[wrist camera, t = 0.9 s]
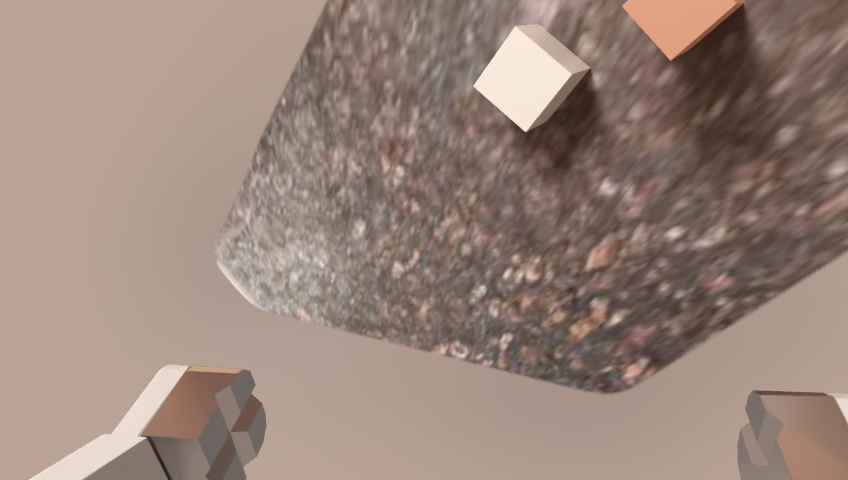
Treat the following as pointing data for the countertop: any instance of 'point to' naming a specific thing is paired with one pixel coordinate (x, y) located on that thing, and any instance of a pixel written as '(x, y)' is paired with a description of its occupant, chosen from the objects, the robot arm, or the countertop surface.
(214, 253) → the countertop surface
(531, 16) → the countertop surface
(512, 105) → the ceramic block
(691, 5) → the terracotta post
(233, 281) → the countertop surface
